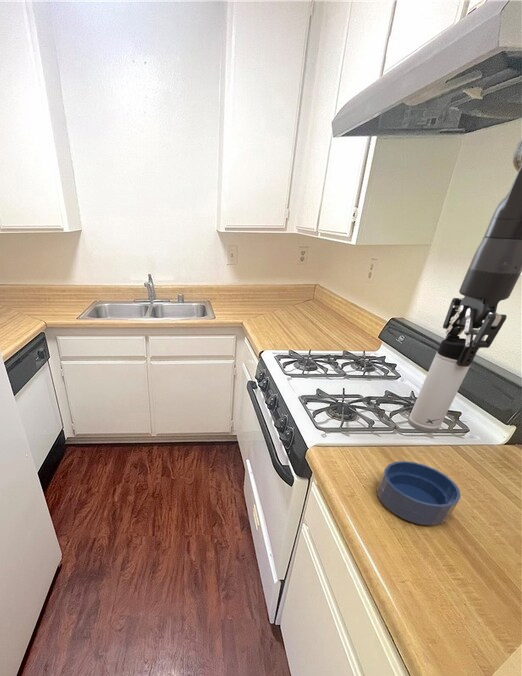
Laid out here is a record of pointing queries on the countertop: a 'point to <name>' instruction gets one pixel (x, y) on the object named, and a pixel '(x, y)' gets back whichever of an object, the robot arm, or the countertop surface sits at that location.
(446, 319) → the robot arm
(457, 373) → the travel mug
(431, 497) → the bowl
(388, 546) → the countertop surface
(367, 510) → the countertop surface
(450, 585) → the countertop surface
